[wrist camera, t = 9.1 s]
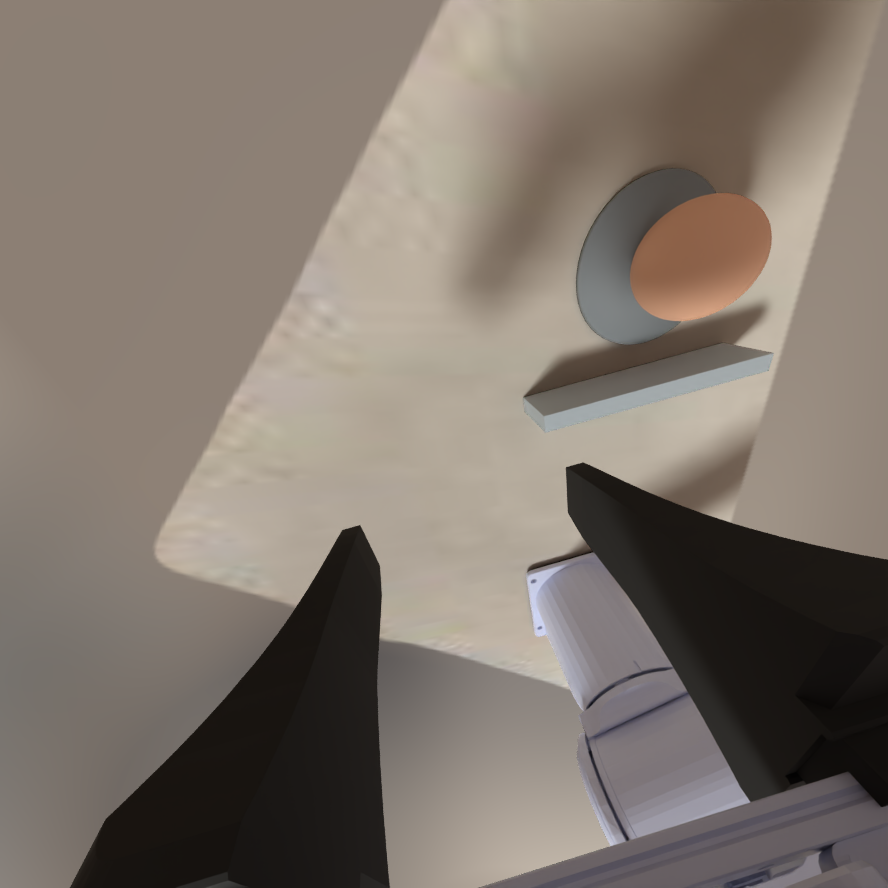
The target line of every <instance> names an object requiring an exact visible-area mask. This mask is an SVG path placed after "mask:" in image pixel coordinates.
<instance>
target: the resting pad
mask: <svg viewBox="0 0 888 888" xmlns="http://www.w3.org/2000/svg"><path fill="white" fill-rule="evenodd" d="M714 193H716V192H715V190H714V189H713V187H712V186H711V185H710V184H709V183H708V181H707V180H706V179H704V178H703V177H701V176H700V175H699V174H697V173H694V172H692V171H690V170H685V169H676V168H670V169H664V170H659V171H656V172H653V173H650V174H647V175H645V176H643V177H641V178H639V179H637V180H635V181H633V182H632V183H630V184H629V185H628V186H626V187H625V188H623V189H622V190H621V191H620V192H619V193H618V194H616V195H615V196H614V197H613V198H612V199H611V201H610V202H609V203H608V204H607V205H606V206H605V207H604V209H603V210H602V211H601V213H600V214H599V215H598V217H597V219H596V220H595V222H594V224H593V225H592V227H591V229H590V231H589V233H588V235H587V237H586V239H585V242H584V245H583V248H582V250H581V254H580V258H579V262H578V268H577V275H576V291H577V299H578V304H579V307H580V310H581V313H582V315H583V317H584V319H585V321H586V322H587V324H588V325H589V327H590V328H591V329H592V330H593V331H594V332H595V333H596V334H598V335H599V336H601V337H602V338H604V339H606V340H609V341H612V342H615V343H619V344H639V343H644V342H647V341H650V340H653V339H655V338H657V337H659V336H661V335H663V334H665V333H666V332H668V331H670V330H671V329H672V328H674V327H675V326H676V325H678V324H679V323H680V322H681V321H670V320H664V319H661V318H658V317H655V316H653V315H651V314H650V313H648V312H647V311H646V310H644V309H643V308H642V307H641V306H640V305H639V303H638V302H637V301H636V299H635V297H634V295H633V292H632V289H631V284H630V269H631V264H632V260H633V257H634V254H635V252H636V250H637V248H638V246H639V244H640V242H641V241H642V239H643V238H644V236H645V235H646V233H647V232H648V231H649V230H650V228H651V227H652V226H653V225H654V224H655V223H656V222H657V221H658V220H659V219H660V218H662V217H663V216H664V215H665V214H667V213H668V212H669V211H671V210H672V209H674V208H675V207H677V206H679V205H681V204H683V203H685V202H686V201H689V200H691V199H694V198H697V197H700V196H704V195H709V194H714Z"/></svg>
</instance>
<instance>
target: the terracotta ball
mask: <svg viewBox="0 0 888 888" xmlns="http://www.w3.org/2000/svg"><path fill="white" fill-rule="evenodd" d="M771 240H772V236H771V227H770V223H769V220H768V218H767V216H766V214H765V213H764V211H763V210H762V209H761V207H759V206H758V205H757V204H756V203H755V202H753V201H752V200H750V199H748V198H745V197H743V196H740V195H736V194H731V193H714V194H709V195H704V196H700V197H697V198H694V199H691V200H689V201H686V202H685V203H683V204H681V205H679V206H677V207H675V208H674V209H672V210H671V211H669V212H668V213H667V214H665V215H664V216H663V217H662V218H660V219H659V220H658V221H657V222H656V223H655V224H654V225H653V226H652V227H651V228H650V230H649V231H648V232H647V233H646V235H645V236H644V238H643V239H642V241H641V242H640V244H639V246H638V248H637V250H636V252H635V254H634V257H633V260H632V264H631V269H630V284H631V289H632V292H633V295H634V297H635V299H636V301H637V302H638V303H639V305H640V306H641V307H642V308H643V309H644V310H646V311H647V312H648V313H650V314H651V315H653V316H655V317H658V318H661V319H664V320H670V321H688V320H694V319H699V318H702V317H705V316H708V315H711V314H713V313H715V312H717V311H719V310H721V309H723V308H725V307H726V306H728V305H730V304H731V303H733V302H734V301H735V300H737V299H738V298H739V297H740V296H741V295H742V294H744V293H745V292H746V291H747V290H748V289H749V288H750V286H751V285H752V284H753V283H754V281H755V280H756V279H757V277H758V276H759V275H760V273H761V271H762V270H763V268H764V266H765V264H766V261H767V259H768V256H769V253H770V248H771Z"/></svg>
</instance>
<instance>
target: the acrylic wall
mask: <svg viewBox="0 0 888 888" xmlns="http://www.w3.org/2000/svg"><path fill="white" fill-rule="evenodd" d="M773 354H774V353H771V352H766V351H761V350H756V349H751V348H746V347H742V346H737V345H732V344H727V343H720V344H716V345H713V346H709V347H706V348H702V349H698V350H695V351H691V352H687V353H684V354H680V355H676V356H673V357H669V358H665V359H662V360H658V361H654V362H651V363H647V364H643V365H640V366H636V367H632V368H629V369H625V370H621V371H618V372H614V373H611V374H607V375H603V376H600V377H596V378H592V379H589V380H585V381H581V382H578V383H574V384H570V385H567V386H563V387H559V388H556V389H552V390H548V391H545V392H541V393H537V394H534V395H530V396H527V397H523V399H524V409H525V413H526V414H527V415H528V416H529V417H530V418H531V419H532V420H533V421H534V422H535V423H536V424H537V425H538V426H539V427H540V428H541V429H542V430H543V431H544V432H545V433H546V432H549V431H553V430H557V429H560V428H564V427H567V426H571V425H575V424H578V423H582V422H586V421H589V420H593V419H596V418H600V417H604V416H607V415H611V414H614V413H618V412H622V411H625V410H629V409H632V408H636V407H640V406H643V405H647V404H650V403H654V402H658V401H661V400H665V399H668V398H672V397H676V396H679V395H683V394H686V393H690V392H694V391H697V390H701V389H705V388H708V387H712V386H715V385H719V384H723V383H726V382H730V381H733V380H737V379H741V378H744V377H748V376H751V375H755V374H759V373H762V372H766V371H769V368H770V364H771V361H772V357H773Z"/></svg>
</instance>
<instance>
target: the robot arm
mask: <svg viewBox="0 0 888 888" xmlns="http://www.w3.org/2000/svg"><path fill="white" fill-rule="evenodd" d="M566 479H567V503H568V513H569V515H570V517H571V519H572V520H573V522H574V524H575V526H576V527H577V529H578V531H579V532H580V534H581V536H582V537H583V539H584V540H585V541H586V543H587V544H588V545H589V547H590V548H591V549H592V551H593V552H592V553H589V554H585V555H582V556H579V557H575V558H572V559H568V560H565V561H561V562H558V563H554V564H551V565H547V566H544V567H540V568H537V569H534V570H530V571H529V572H527V574H526V578H527V585H528V592H529V599H530V606H531V612H532V619H533V626H534V632H535V635H536V636H538V637H540V636H544V635H547V637H548V639H549V641H550V644H551V646H552V648H553V651H554V653H555V655H556V657H557V660H558V662H559V664H560V667H561V669H562V671H563V673H564V676H565V678H566V680H567V682H568V685H569V687H570V689H571V692H572V694H573V696H574V698H575V700H576V702H577V703H578V705H579V706H580V708H581V709H582V710H583V713H581V714H579V715H578V716H579V719H580V722H581V724H582V726H583V729H584V731H585V732H584V733H581V734H580V735H579V736H578V748H577V760H578V765H579V769H580V773H581V776H582V779H583V783H584V786H585V788H586V791H587V794H588V797H589V799H590V802H591V805H592V807H593V809H594V812H595V814H596V816H597V819H598V821H599V823H600V825H601V828H602V830H603V832H604V834H605V836H606V838H607V840H608V842H609V844H610V847H607V848H603V849H600V850H597V851H594V852H591V853H588V854H584V855H581V856H578V857H575V858H572V859H569V860H565V861H562V862H559V863H556V864H553V865H550V866H546V867H543V868H540V869H537V870H533V871H531V872H527V873H524V874H521V875H518V876H514V877H511V878H508V879H505V880H502V881H498V882H496V883H492V884H489V885H486V886H483V887H479V888H888V560H887V559H880V558H875V557H869V556H864V555H859V554H854V553H849V552H844V551H840V550H835V549H830V548H826V547H821V546H816V545H812V544H808V543H804V542H799V541H795V540H791V539H787V538H783V537H779V536H776V535H772V534H768V533H764V532H761V531H757V530H754V529H749V528H746V527H743V526H740V525H736V524H733V523H730V522H727V521H724V520H721V519H718V518H715V517H712V516H709V515H705V514H702V513H700V512H697V511H694V510H691V509H688V508H686V507H683V506H681V505H678V504H676V503H673V502H670V501H668V500H665V499H663V498H660V497H658V496H656V495H653V494H651V493H649V492H646V491H644V490H642V489H640V488H637V487H635V486H633V485H631V484H629V483H626V482H624V481H622V480H620V479H618V478H616V477H614V476H611V475H609V474H607V473H605V472H603V471H601V470H599V469H597V468H594V467H592V466H590V465H588V464H585V463H580V464H576V465H573V466H569V467H566ZM381 599H382V592H381V575H380V565H379V563H378V561H377V559H376V557H375V555H374V553H373V551H372V549H371V547H370V544H369V542H368V540H367V538H366V536H365V534H364V532H363V530H362V528H361V526H360V525H359V526H355V527H352V528H348V529H345V530H342V532H341V534H340V535H339V537H338V539H337V540H336V542H335V544H334V545H333V547H332V549H331V551H330V552H329V554H328V556H327V558H326V559H325V561H324V563H323V565H322V566H321V568H320V570H319V571H318V573H317V575H316V576H315V578H314V580H313V581H312V583H311V585H310V586H309V588H308V590H307V591H306V593H305V594H304V596H303V597H302V599H301V600H300V602H299V604H298V605H297V607H296V608H295V610H294V611H293V613H292V614H291V616H290V617H289V619H288V620H287V622H286V623H285V624H284V626H283V627H282V629H281V630H280V631H279V633H278V634H277V636H276V637H275V638H274V639H273V641H272V642H271V643H270V645H269V646H268V647H267V648H266V650H265V651H264V652H263V654H262V655H261V656H260V658H259V659H258V660H257V661H256V663H255V664H254V665H253V666H252V667H251V668H250V670H249V671H248V672H247V673H246V674H245V675H244V677H243V678H242V679H241V680H240V681H239V682H238V684H237V685H236V686H235V687H234V688H233V690H232V691H231V692H230V693H229V694H228V695H227V697H226V698H225V699H224V700H223V701H222V702H221V703H220V705H219V706H218V707H217V708H216V709H215V710H214V711H213V712H212V713H211V714H210V716H209V717H208V718H207V719H206V720H205V721H204V722H203V723H202V724H201V725H200V726H199V727H198V729H196V731H195V732H194V733H193V734H192V735H191V736H190V737H189V738H188V739H187V740H186V741H185V742H184V743H183V744H182V745H181V746H180V747H179V748H178V749H177V750H176V751H175V752H174V753H173V754H172V755H171V756H170V757H169V759H167V760H166V761H165V762H164V763H163V764H162V765H161V766H160V767H159V768H158V769H157V770H156V771H155V772H154V773H153V774H152V775H151V776H150V777H149V778H148V779H147V780H146V781H145V782H144V783H143V784H142V785H141V786H140V787H139V788H138V789H137V790H136V791H135V792H134V793H133V794H132V795H131V796H130V797H128V799H126V801H124V802H123V803H122V804H121V805H120V806H119V807H118V808H117V809H116V810H115V811H114V812H113V813H112V814H111V815H110V816H109V817H108V818H107V819H106V820H105V822H104V823H103V825H102V827H101V829H100V831H99V833H98V835H97V837H96V839H95V841H94V842H93V844H92V846H91V848H90V850H89V852H88V854H87V856H86V858H85V860H84V862H83V864H82V866H81V868H80V869H79V871H78V873H77V875H76V877H75V879H74V881H73V883H72V885H71V887H70V888H390V886H389V875H388V864H387V852H386V839H385V827H384V815H383V800H382V784H381V768H380V750H379V727H378V697H377V669H378V651H379V635H380V618H381Z"/></svg>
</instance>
